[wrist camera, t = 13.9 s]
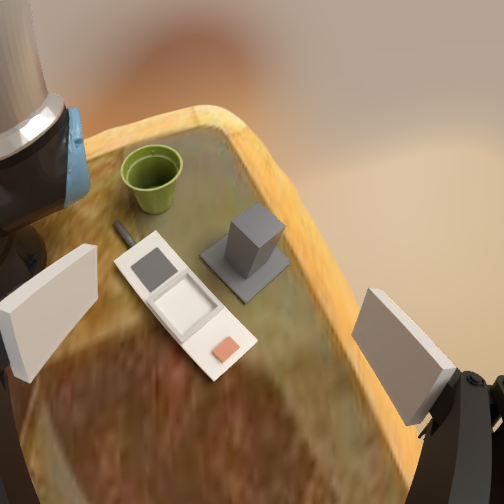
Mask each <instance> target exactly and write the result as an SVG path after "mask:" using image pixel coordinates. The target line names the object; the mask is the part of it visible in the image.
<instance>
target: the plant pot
mask: <svg viewBox="0 0 504 504" xmlns="http://www.w3.org/2000/svg"><path fill="white" fill-rule="evenodd" d="M182 166H183V163H182V159H181V157H180V155H179V154H178V152H176V151H175V150H174V149H172V148H170V147H168V146H164V145H148V146H144V147H141V148H139V149H137V150H135V151H133V152H132V153H131V154H129V155H128V156H127V157H126V159H125V160H124V162H123V164H122V166H121V177H122V180H123V181H124V183H125V184H126V185H127V186H128V187H129V188H130V189H131V190H132V192H133V194H134V196H135V198H136V200H137V202H138V204H139V206H140V207H141V209H142V210H143V211H145V212H148V213H150V214H160V213H163V212H165V211H166V210H168V209H169V207H170V206H171V204H172V203H173V199H174V192H175V186H176V180H177V178H178V177H179V175H180V173H181V171H182Z"/></svg>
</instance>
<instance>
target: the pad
mask: <svg viewBox="0 0 504 504" xmlns="http://www.w3.org/2000/svg"><path fill="white" fill-rule="evenodd" d="M228 235H229V233H228V234H227V235H226V236H224V237H223V238H222V239H220V240H219V241H218V242H216V243H215V244H214V245H212V246H211V247H210V248H208V249H207V250H206V251H204V252H203V253H202V254H200V257H201V258H202V259H203V260H204V262H205V263H206V264H207V265H208V266H209V267H210V268H211V269H212V270H213V271H214V272H215V273H216V274H217V275H218V276H219V277H220V278H221V280H222V281H223V282H224V283H225V284H226V285H227V286H228V287H229V288H230V289H231V290H232V291H233V292H234V293H235V294H236V295H237V296H238V297H239V298H240V299H241V300H242V301H243V302H244V303H245V304H247V303H248V302H249V301H250V300H251V299H252V298H253V297H254V296H255V295H257V294H258V293H259V292H260V291H261V290H262V289H263V288H264V287H265V286H266V285H268V284H269V283H270V282H271V281H272V280H273V279H274V278H275V277H276V276H277V275H278V274H280V273H281V272H282V271H283V270H284V269H285V268H286V267H287V266H288V265H289V264H290V263H291V261H290V260H289V259H288V258H287V257H286V256H285V255H284V254H283V253H282V252H281V251H280V250H279V249H277V248H276V247H275V249H274V250H273V252H272V254H271V256H270V258H269V260H268V261H267V262H266V263H265V264H264V265H263V266H262V267H261V268H259V269H258V270H257V271H256V272H255V273H254V274H252V275H251V276H250V277H249V278H248V279H247V280H246V279H245V278H244V277H243V276H242V275H241V274H240V273H239V272H238V271H237V270H236V269H235V268H234V267H233V266H232V265H231V264H230V263H229V262H228V261H227V260H226V259H225V258H224V255H225V250H226V245H227V240H228Z"/></svg>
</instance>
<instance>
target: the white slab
mask: <svg viewBox="0 0 504 504" xmlns="http://www.w3.org/2000/svg"><path fill="white" fill-rule="evenodd" d="M113 225H114V227H115V228H116V229H117V231H118V232H119V233H120V235H121V236H122V237H123V239H124V240H125V241H126V243H127V244H128V245H129V247H130V249H129V250H128V251H126V252H125V253H124V254H122V255H121V256H120V257H118V258H117V259H116V260H114V263H115V264H116V266H117V268H118V269H119V270H120V272H121V273H122V275H123V276H124V277H125V279H126V280H127V281H128V283H129V284H130V285H131V287H132V288H133V289H134V290H135V292H136V293H137V294H138V296H139V297H140V298H141V300H142V301H143V302H144V303H145V305H146V306H147V307H148V308H149V310H150V311H151V312H152V313H153V314H154V316H155V317H156V318H157V319H158V321H159V322H160V323H161V324H162V325H163V327H164V328H165V329H166V330H167V331H168V332H169V334H170V335H171V336H172V337H173V338H174V339H175V341H176V342H177V343H178V344H179V345H180V346H181V347H182V348H183V350H184V351H185V352H186V353H187V354H188V355H189V356H190V357H191V358H192V359H193V361H194V362H195V363H196V364H197V365H198V366H199V367H200V368H201V369H202V370H203V371H204V372H205V373H206V374H207V375H208V376H209V378H210V379H211V380H212V381H213V382H214V381H215V380H216V379H217V378H218V377H220V376H221V375H222V374H223V373H224V372H225V371H226V370H227V369H228V368H229V367H231V366H232V365H233V364H234V363H235V362H236V361H237V360H238V359H239V358H240V357H241V356H242V355H243V354H245V353H246V352H247V351H248V350H249V349H250V348H251V347H252V346H253V345H254V344H255V343H256V342H257V341H258V340H257V339H256V338H255V337H254V336H253V335H252V334H251V333H250V332H249V331H248V330H247V329H246V328H245V327H244V326H243V325H242V324H241V323H240V322H239V321H238V320H237V319H236V318H235V317H234V316H233V315H232V314H231V313H230V312H229V311H228V309H227V308H226V307H225V306H224V305H223V304H222V303H221V302H220V301H219V300H218V299H217V298H216V297H215V296H214V294H213V293H212V292H211V291H210V290H209V289H208V288H207V287H206V286H205V285H204V284H203V283H202V282H201V280H200V279H199V278H198V277H197V276H196V275H195V274H194V273H193V272H192V271H191V270H190V268H189V267H188V266H187V265H186V264H185V263H184V262H183V261H182V260H181V259H180V257H179V256H178V255H177V254H176V253H175V252H174V251H173V250H172V248H171V247H170V246H169V245H168V244H167V243H166V242H165V240H164V239H163V238H162V237H161V236H160V235H159V233H158V232H157V231H154V232H153V233H151V234H150V235H148V236H147V237H146V238H144V239H143V240H141V241H140V242H139V243H136V242H135V240H134V239H133V238H132V237H131V235H130V234H129V233H128V231H127V230H126V229H125V228H124V226H123V225H122V224H121V222H120V221H119V220H116V221H115V222H114V224H113Z"/></svg>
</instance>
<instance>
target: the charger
mask: <svg viewBox="0 0 504 504" xmlns="http://www.w3.org/2000/svg"><path fill="white" fill-rule="evenodd" d="M285 227H286V226H285V225H284V224H283V223H282V222H281V221H280V220H278V219H277V218H276V217H275V216H274V215H273V214H272V213H271V212H270V211H269V210H267V209H266V208H265V207H264V206H263V205H262V204H261V203H260V202H257V203H256V204H254V205H253V206H251V207H250V208H249V209H247V210H246V211H245V212H243V213H242V214H240V215H239V216H238V217H236V218H235V219H233V220H232V221H231V225H230V230H229V235H228V240H227V245H226V250H225V255H224V258H225V259H226V260H227V261H228V262H229V263H230V264H231V265H232V266H233V267H234V268H235V269H236V270H237V271H238V272H239V273H240V274H241V275H242V276H243V277H244V278H245V279H246V280H247V279H248V278H249V277H250V276H251V275H252V274H254V273H255V272H256V271H257V270H258V269H259V268H261V267H262V266H263V265H264V264H265V263H266V262H267V261H268V260H269V258H270V256H271V254H272V252H273V250H274V249H275V247H276V245H277V243H278V241H279V239H280V237H281V235H282V233H283V231H284V229H285Z"/></svg>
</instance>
